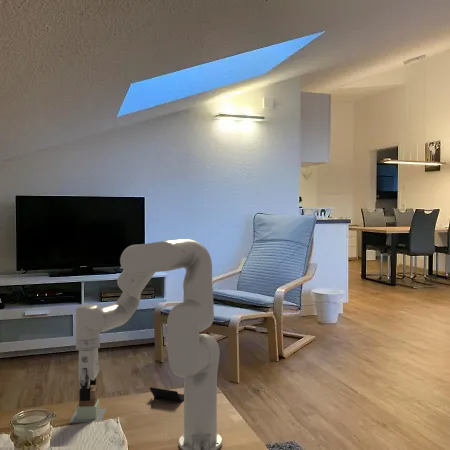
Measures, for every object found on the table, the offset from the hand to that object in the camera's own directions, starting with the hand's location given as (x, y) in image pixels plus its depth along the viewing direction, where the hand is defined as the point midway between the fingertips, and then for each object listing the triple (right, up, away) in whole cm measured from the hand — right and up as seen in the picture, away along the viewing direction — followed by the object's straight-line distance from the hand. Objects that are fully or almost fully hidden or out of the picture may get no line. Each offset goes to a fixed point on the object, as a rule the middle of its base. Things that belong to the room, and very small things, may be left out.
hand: (88, 394), depth 153 cm
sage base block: (0, -7, 0) cm, 7 cm away
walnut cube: (0, -3, 0) cm, 3 cm away
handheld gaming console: (+25, -8, +15) cm, 30 cm away
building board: (0, -8, 0) cm, 8 cm away
